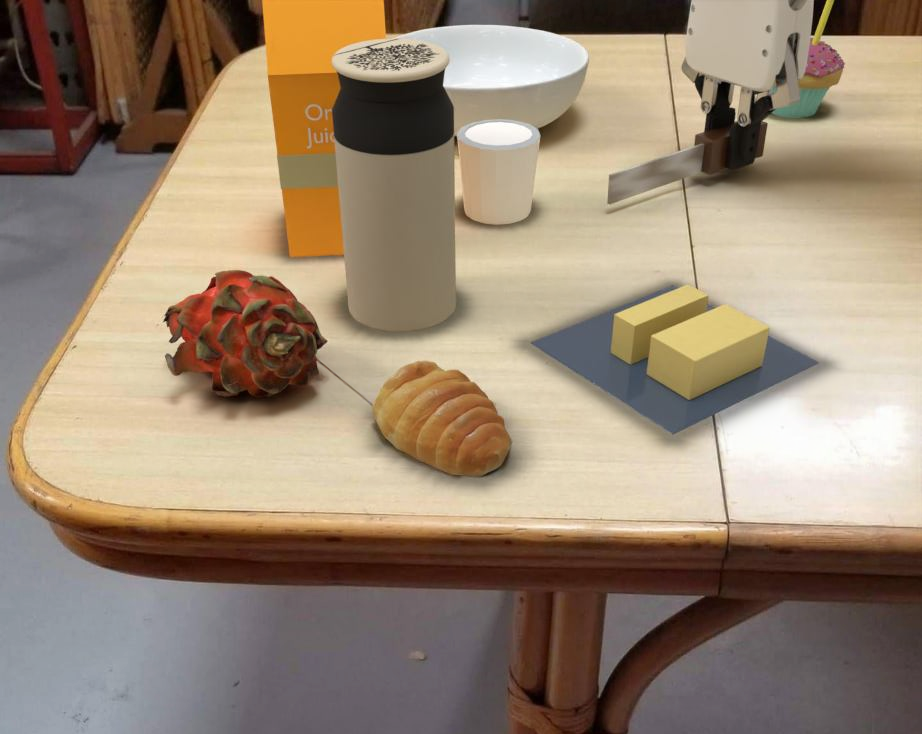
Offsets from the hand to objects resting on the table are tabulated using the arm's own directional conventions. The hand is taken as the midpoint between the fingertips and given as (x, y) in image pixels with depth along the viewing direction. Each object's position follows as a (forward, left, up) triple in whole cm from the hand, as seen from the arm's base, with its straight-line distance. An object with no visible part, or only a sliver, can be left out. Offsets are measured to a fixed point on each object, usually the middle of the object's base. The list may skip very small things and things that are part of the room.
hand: (727, 159), depth 96 cm
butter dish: (+26, +19, -2) cm, 33 cm away
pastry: (+44, +17, -2) cm, 48 cm away
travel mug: (+37, +2, -2) cm, 37 cm away
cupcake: (-18, -8, -2) cm, 19 cm away
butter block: (+26, +22, -1) cm, 34 cm away
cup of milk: (+21, -7, -2) cm, 22 cm away
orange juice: (+34, -11, -2) cm, 36 cm away
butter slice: (+26, +18, -1) cm, 32 cm away
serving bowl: (+9, -25, -2) cm, 26 cm away
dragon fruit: (+51, +4, -2) cm, 51 cm away
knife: (+6, 0, 0) cm, 6 cm away
